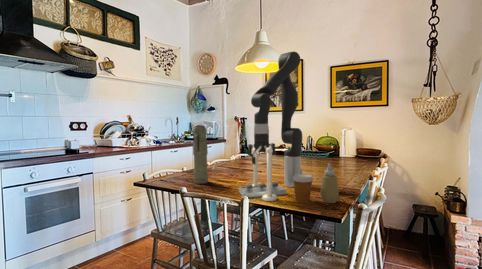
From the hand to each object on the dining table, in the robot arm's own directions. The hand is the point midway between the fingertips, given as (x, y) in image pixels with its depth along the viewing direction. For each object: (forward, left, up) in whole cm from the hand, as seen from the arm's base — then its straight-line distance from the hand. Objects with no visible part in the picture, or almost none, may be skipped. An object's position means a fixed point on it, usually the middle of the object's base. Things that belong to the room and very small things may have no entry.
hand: (261, 163), depth 143 cm
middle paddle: (0, 0, -12) cm, 12 cm away
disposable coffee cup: (-14, +18, -16) cm, 28 cm away
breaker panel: (0, 0, -16) cm, 16 cm away
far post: (0, -11, -16) cm, 19 cm away
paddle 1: (+7, 0, -12) cm, 13 cm away
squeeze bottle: (-25, +23, -16) cm, 37 cm away
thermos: (+28, -34, -16) cm, 47 cm away
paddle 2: (-7, 0, -12) cm, 13 cm away
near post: (0, +11, -16) cm, 19 cm away
